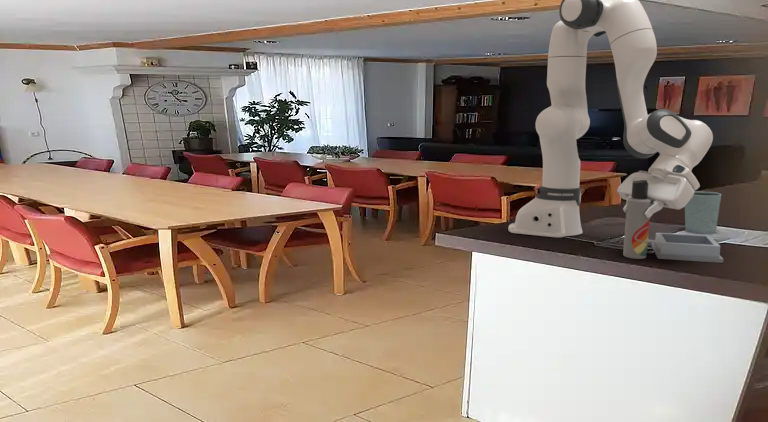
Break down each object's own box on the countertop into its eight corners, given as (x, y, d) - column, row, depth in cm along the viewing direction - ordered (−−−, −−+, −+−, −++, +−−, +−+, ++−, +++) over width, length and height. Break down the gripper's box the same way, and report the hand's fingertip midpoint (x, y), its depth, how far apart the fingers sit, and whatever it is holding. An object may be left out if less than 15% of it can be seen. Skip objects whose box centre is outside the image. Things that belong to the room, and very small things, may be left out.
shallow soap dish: (657, 258, 155) (658, 243, 155) (651, 245, 169) (652, 231, 169) (723, 262, 151) (724, 247, 150) (711, 249, 165) (712, 235, 164)
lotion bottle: (650, 259, 155) (656, 181, 151) (628, 259, 154) (634, 181, 151) (640, 253, 160) (646, 178, 156) (619, 253, 160) (625, 178, 156)
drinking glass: (721, 235, 183) (724, 196, 181) (684, 233, 186) (687, 194, 184) (713, 228, 192) (717, 191, 190) (679, 227, 195) (681, 190, 193)
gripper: (631, 162, 165) (600, 200, 163) (694, 169, 147) (660, 212, 145) (642, 178, 168) (612, 215, 166) (706, 186, 149) (673, 228, 147)
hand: (635, 213), depth 155 cm, fingers closed on lotion bottle, 5 cm apart
